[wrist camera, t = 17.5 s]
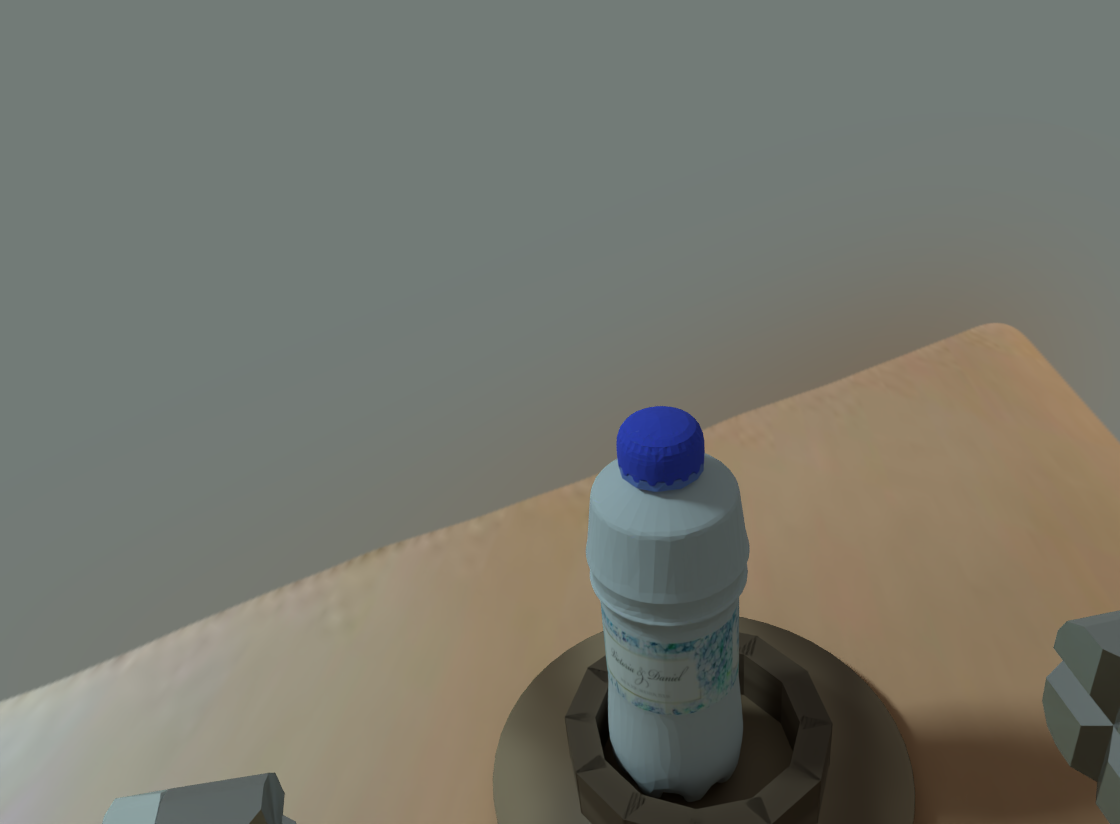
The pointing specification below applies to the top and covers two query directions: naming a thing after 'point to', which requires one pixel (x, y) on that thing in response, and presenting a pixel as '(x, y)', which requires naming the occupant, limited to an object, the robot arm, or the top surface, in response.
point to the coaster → (765, 756)
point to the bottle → (670, 603)
